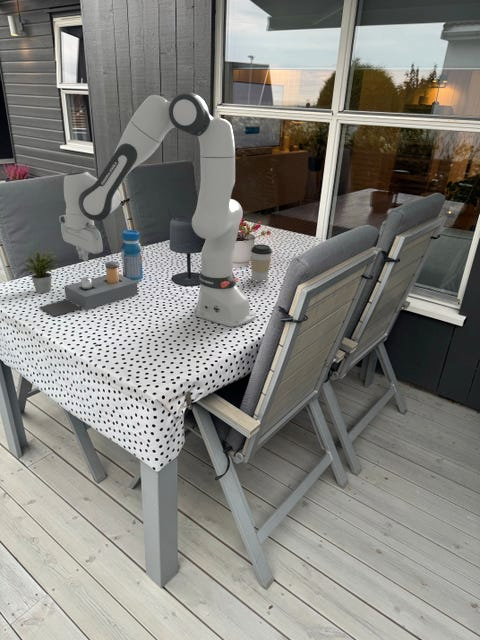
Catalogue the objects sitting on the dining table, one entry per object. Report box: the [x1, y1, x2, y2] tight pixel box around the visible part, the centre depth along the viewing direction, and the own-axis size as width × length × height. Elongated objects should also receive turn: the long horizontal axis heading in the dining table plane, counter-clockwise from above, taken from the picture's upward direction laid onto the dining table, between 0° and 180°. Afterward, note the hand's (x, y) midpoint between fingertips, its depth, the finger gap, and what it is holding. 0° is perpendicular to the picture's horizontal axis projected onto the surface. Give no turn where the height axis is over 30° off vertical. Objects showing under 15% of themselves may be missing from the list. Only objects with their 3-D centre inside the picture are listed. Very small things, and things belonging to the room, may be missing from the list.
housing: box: [64, 274, 139, 311], centre depth 168 cm, size 22×14×5 cm, turn 139°
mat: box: [39, 299, 82, 318], centre depth 157 cm, size 10×10×1 cm
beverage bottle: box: [120, 229, 144, 283], centre depth 184 cm, size 8×8×20 cm
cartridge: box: [104, 261, 120, 284], centre depth 170 cm, size 5×5×12 cm
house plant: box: [22, 248, 61, 294], centre depth 167 cm, size 14×14×16 cm
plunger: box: [80, 276, 93, 291], centre depth 163 cm, size 4×4×6 cm
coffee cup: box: [250, 244, 273, 282], centre depth 193 cm, size 9×9×15 cm
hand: (83, 259), depth 159 cm, fingers closed
